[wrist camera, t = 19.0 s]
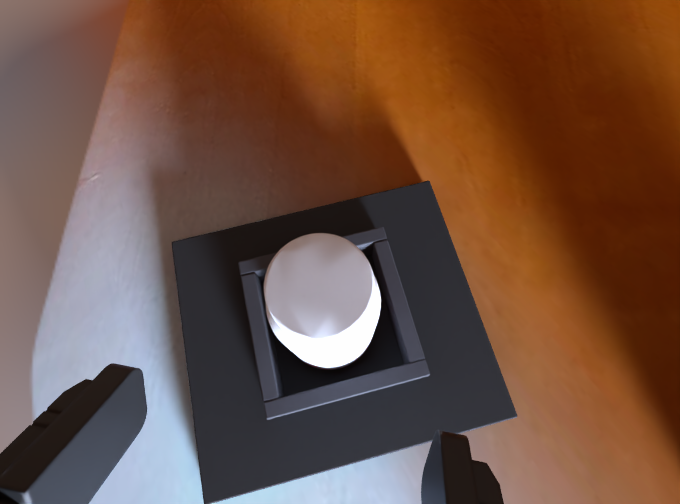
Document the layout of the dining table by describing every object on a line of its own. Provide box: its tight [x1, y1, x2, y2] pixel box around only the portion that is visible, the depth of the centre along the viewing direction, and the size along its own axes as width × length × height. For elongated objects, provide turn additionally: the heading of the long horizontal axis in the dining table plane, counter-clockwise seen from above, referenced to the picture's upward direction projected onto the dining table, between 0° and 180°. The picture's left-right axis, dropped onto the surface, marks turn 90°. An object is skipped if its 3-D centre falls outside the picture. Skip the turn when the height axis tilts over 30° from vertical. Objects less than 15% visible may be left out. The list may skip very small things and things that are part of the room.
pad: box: [172, 181, 517, 504], centre depth 22 cm, size 16×14×3 cm
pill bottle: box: [264, 233, 381, 370], centre depth 18 cm, size 5×5×8 cm
